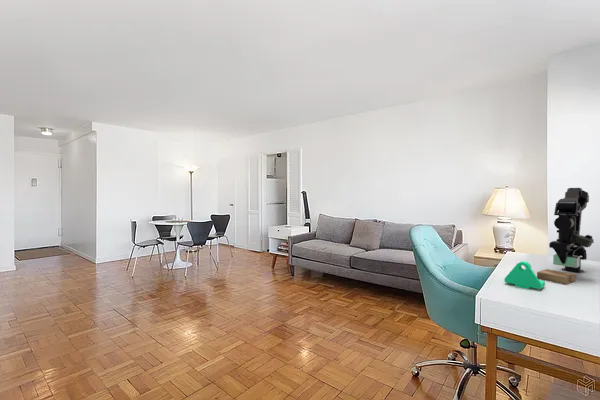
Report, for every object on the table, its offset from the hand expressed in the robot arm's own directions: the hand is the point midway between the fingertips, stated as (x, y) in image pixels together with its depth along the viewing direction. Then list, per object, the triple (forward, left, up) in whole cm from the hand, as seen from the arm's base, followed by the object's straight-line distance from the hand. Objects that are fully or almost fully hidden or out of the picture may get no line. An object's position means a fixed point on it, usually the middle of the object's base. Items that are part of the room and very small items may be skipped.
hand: (566, 262), depth 135 cm
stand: (+10, 0, -6) cm, 12 cm away
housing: (0, 0, -1) cm, 1 cm away
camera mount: (+31, -3, -7) cm, 32 cm away
